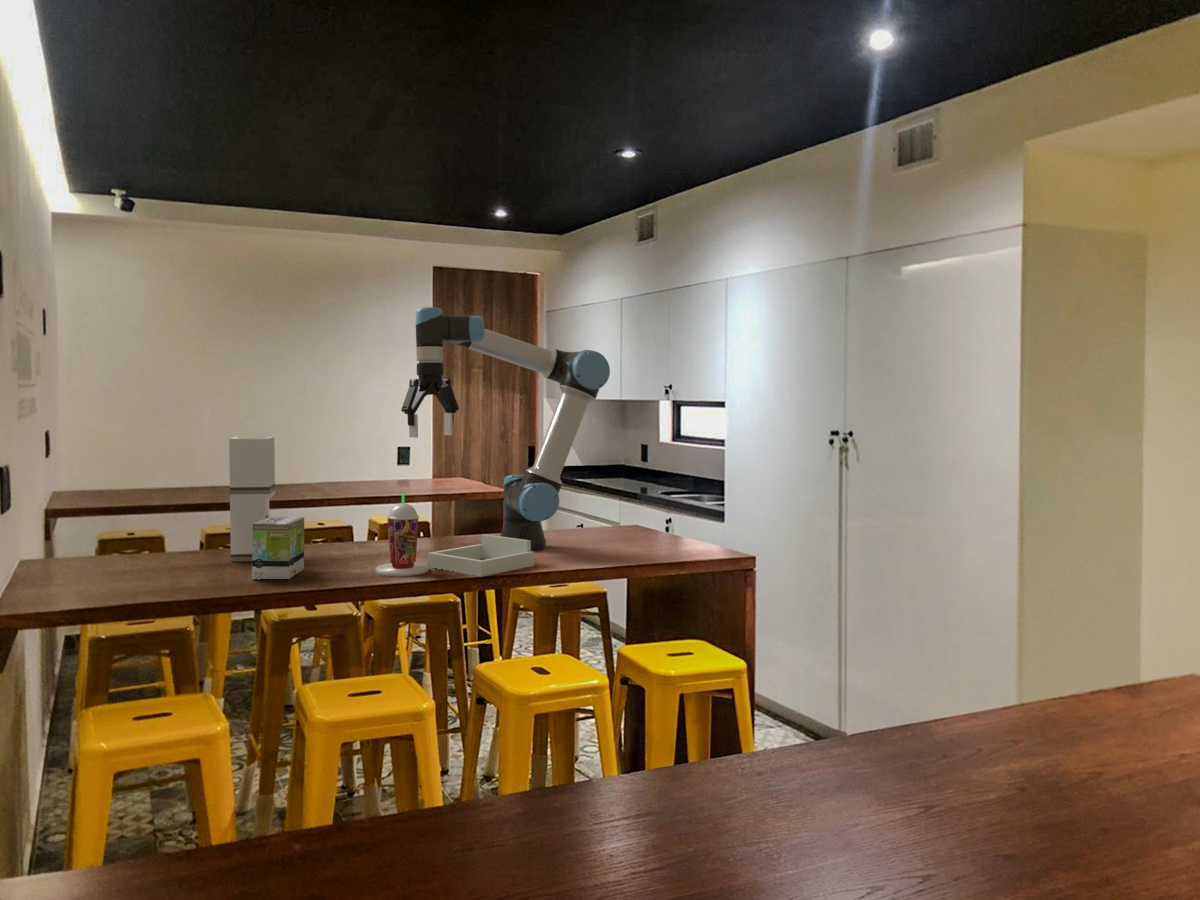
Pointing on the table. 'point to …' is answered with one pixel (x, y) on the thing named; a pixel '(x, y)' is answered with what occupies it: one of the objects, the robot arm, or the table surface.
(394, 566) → the smoothie
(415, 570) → the saucer
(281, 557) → the tea box
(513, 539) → the shallow open tray
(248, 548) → the striped white pillar
